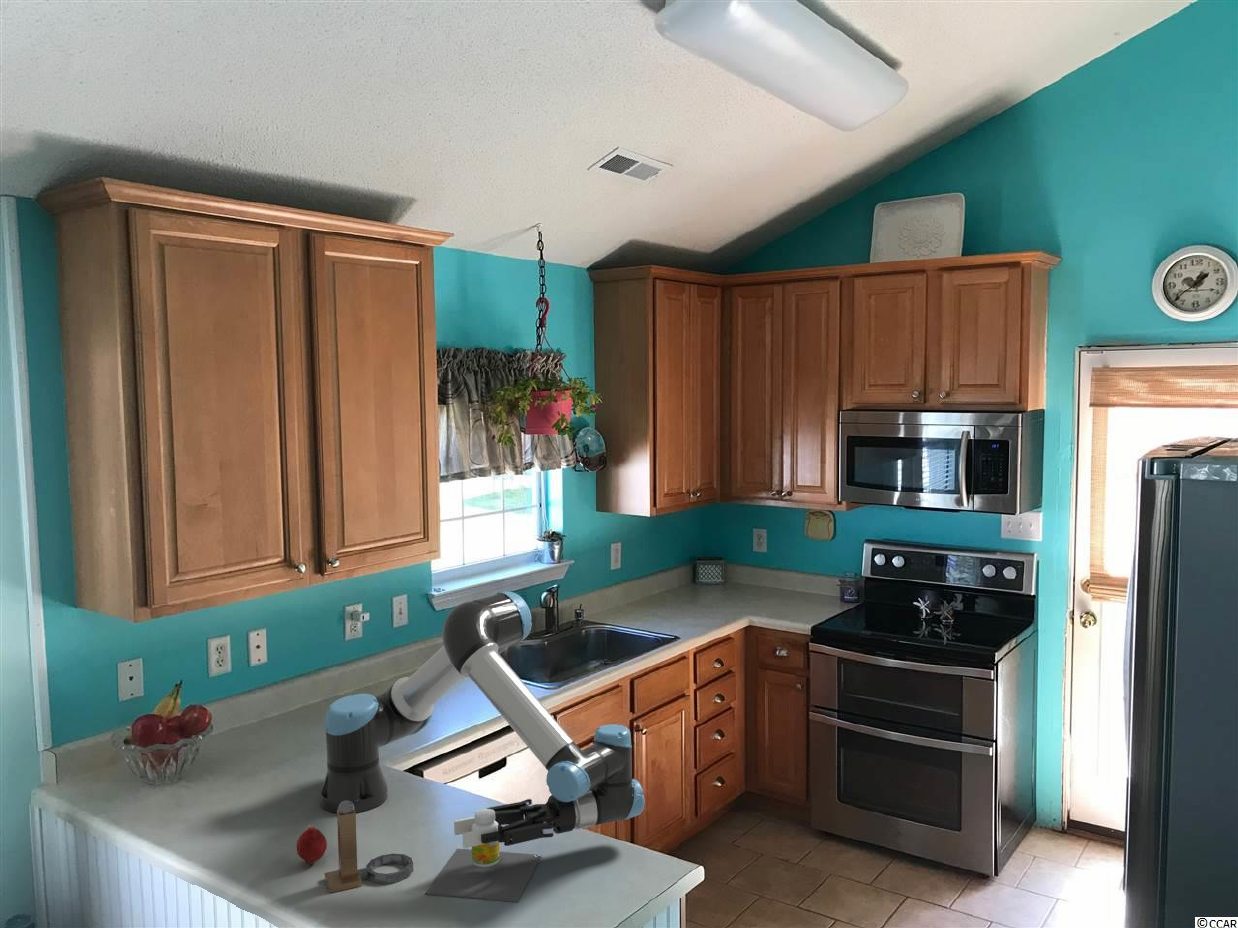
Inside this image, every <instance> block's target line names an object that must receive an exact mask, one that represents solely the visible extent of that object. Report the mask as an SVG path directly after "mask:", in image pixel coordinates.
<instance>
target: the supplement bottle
mask: <svg viewBox="0 0 1238 928" xmlns="http://www.w3.org/2000/svg"><path fill="white" fill-rule="evenodd" d="M474 816H475V823H474V824H473V825H472V828H471V831H475V830H480V829H485V828H490V827H494V826H496V828H497V831H498V825H499V824H498V823H497V822H496V821H495V811H494V810H492V809H486V808H482V809H481V808H480V809H478V810H476V811H475V812H474ZM500 844H501V843H500V842H498V841H497V842H492V843H487V844H483V845H478V846H473V847H471V850H472V862H473V864H474V865H476V866H479V867H490V866H493V865H495V864H497V863H498V862H499V859H500V852H501V849H500Z"/></svg>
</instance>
